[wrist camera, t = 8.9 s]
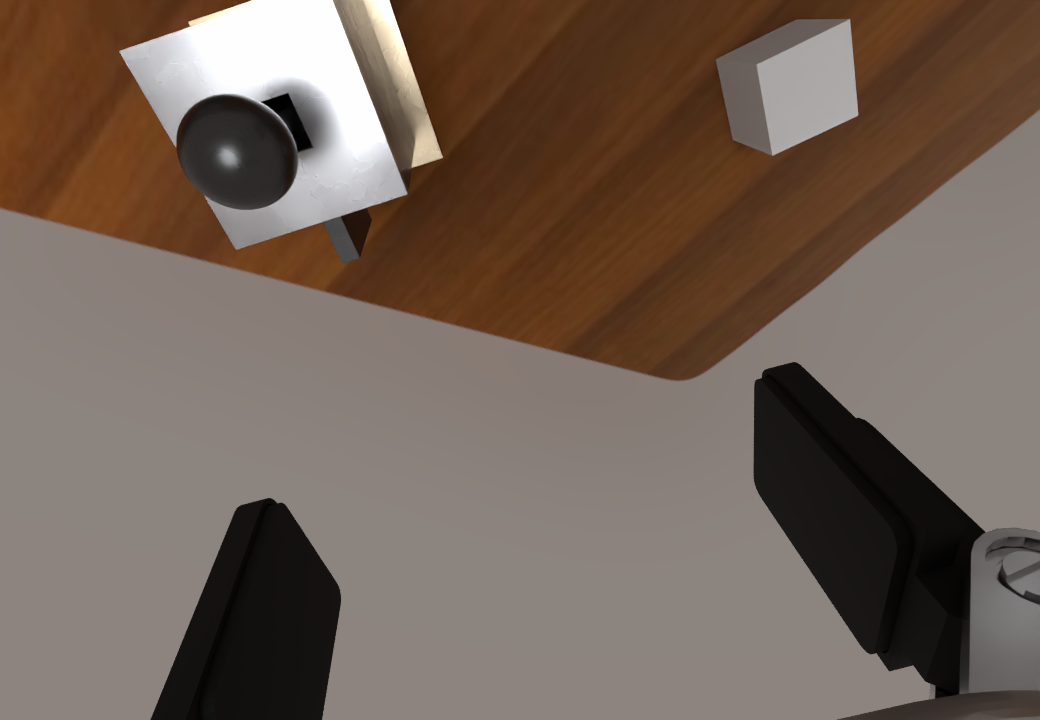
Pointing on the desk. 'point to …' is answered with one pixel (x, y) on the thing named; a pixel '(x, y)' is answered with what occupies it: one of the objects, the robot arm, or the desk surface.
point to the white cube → (790, 84)
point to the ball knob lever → (241, 149)
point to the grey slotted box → (304, 105)
